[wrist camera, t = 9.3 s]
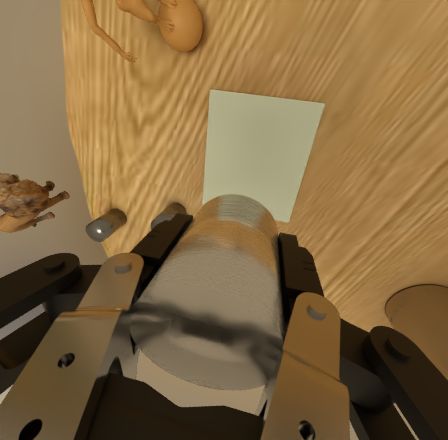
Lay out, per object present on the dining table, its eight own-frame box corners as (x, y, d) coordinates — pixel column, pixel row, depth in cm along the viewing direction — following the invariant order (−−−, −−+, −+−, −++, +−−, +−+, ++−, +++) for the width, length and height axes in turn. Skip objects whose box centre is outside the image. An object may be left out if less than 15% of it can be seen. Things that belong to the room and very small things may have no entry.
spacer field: (254, 217, 29) (252, 236, 25) (232, 321, 40) (228, 346, 36) (104, 189, 32) (78, 202, 27) (123, 293, 43) (107, 314, 38)
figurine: (197, 84, 23) (137, 64, 12) (146, 66, 23) (45, 32, 13) (218, -21, 19) (153, -183, 8) (155, -42, 19) (16, -228, 8)
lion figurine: (48, 156, 31) (-26, 172, 23) (79, 181, 32) (18, 205, 24) (25, 215, 38) (-38, 243, 30) (51, 234, 39) (-4, 266, 31)
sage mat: (323, 103, 21) (325, 103, 21) (288, 220, 28) (288, 222, 28) (211, 89, 23) (210, 89, 22) (203, 204, 30) (202, 206, 29)
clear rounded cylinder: (287, 203, 10) (309, 314, 4) (267, 273, 12) (265, 404, 7) (195, 186, 10) (118, 270, 5) (192, 257, 12) (136, 367, 7)
